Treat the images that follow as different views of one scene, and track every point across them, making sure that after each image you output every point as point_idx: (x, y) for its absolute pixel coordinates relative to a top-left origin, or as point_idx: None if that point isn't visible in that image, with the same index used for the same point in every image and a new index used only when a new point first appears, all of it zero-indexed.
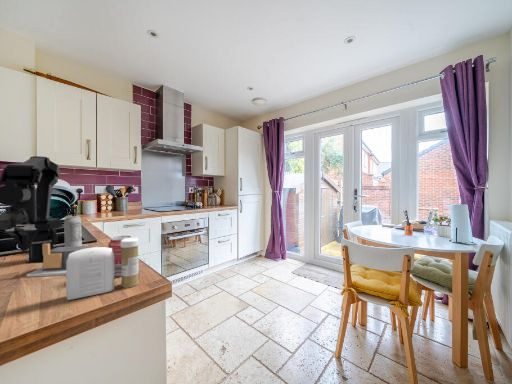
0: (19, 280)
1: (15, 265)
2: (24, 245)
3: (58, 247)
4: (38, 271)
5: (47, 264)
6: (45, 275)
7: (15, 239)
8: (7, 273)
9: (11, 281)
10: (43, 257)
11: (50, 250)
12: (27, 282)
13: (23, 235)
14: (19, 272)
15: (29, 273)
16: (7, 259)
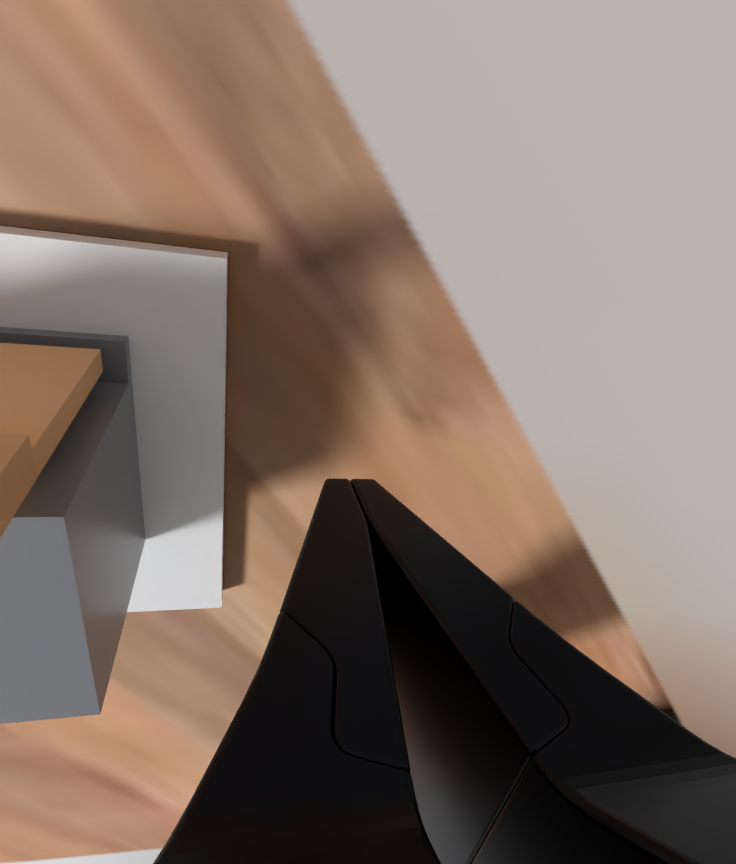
0: (227, 147)
1: (527, 563)
2: (325, 540)
3: (73, 702)
4: (163, 335)
5: (28, 367)
6: (3, 229)
7: (565, 649)
8: (486, 403)
9: (299, 138)
10: (50, 421)
11: (45, 588)
12: (46, 13)
13: (337, 823)
14: (400, 409)
15: (217, 284)
16: (631, 658)
